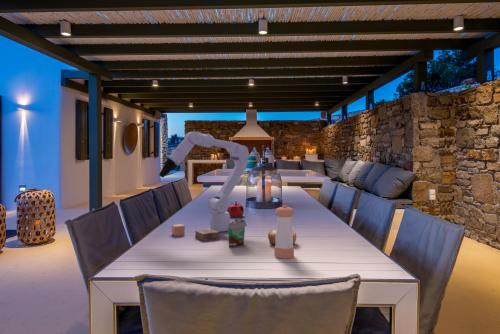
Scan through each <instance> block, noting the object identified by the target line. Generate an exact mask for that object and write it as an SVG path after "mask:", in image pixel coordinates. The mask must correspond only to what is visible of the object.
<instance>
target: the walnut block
mask: <svg viewBox="0 0 500 334" xmlns="http://www.w3.org/2000/svg"><path fill="white" fill-rule="evenodd" d="M194 234H195V238H196V239H197V240H199V241H201V242H207V241H216V240H220V232H218V231H216V230H213V229H207V228H205V229H198V230H197V229H196V230H195V233H194Z"/></svg>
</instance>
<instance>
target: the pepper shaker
mask: <svg viewBox="0 0 500 334" xmlns="http://www.w3.org/2000/svg"><path fill="white" fill-rule="evenodd" d="M294 211H295V210H294V209H293V208H292V207H289V206H287V205H286V204H283V205H282V206H280V207H277V208H276V209H275V210H274V214H275V215H276V218H277V219H276V230H277V231H276V237H275V242H276V246H275V245H274V250H273V251H274V253H273V254H274V257H275V258H277V259H282V258H283V259H284V260H285V258H286V259H287V258H288V259H292V257H293V258H294V257H295V246H294V244H293V232H294V231H293V228H292V227H293V216H294V214H295V212H294ZM292 231H293V232H292ZM283 259H282V260H283Z"/></svg>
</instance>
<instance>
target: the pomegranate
mask: <svg viewBox="0 0 500 334" xmlns="http://www.w3.org/2000/svg"><path fill="white" fill-rule="evenodd" d="M234 202H235V203H233V202H231V203H230V205H229V206H227V209H226V212H228V213H229V214H230V218H241V217H242V216H243V215H244V214H245V208H244V206H243V205H242V204H241V203H239V202H238V200H235V201H234Z"/></svg>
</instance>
